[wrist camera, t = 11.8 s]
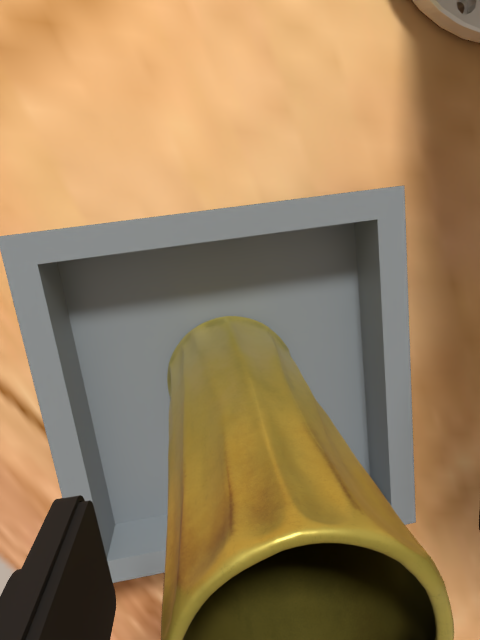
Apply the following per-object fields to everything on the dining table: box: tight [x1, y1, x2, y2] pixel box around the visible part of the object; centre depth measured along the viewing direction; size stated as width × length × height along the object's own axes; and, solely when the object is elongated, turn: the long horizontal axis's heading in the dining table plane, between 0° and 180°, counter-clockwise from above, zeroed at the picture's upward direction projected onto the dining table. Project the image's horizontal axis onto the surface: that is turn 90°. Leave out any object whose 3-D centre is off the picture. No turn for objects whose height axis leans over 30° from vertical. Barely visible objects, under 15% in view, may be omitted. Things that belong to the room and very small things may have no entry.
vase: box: [161, 316, 454, 640], centre depth 14 cm, size 6×6×14 cm
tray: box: [0, 186, 416, 583], centre depth 21 cm, size 16×16×4 cm
